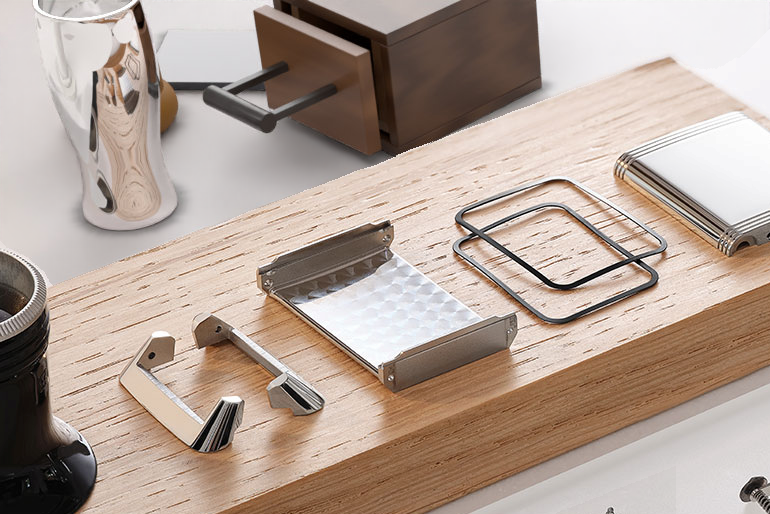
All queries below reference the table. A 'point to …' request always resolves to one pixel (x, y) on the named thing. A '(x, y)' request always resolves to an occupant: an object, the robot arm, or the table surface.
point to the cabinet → (441, 59)
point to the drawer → (312, 80)
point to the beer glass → (108, 106)
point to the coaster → (208, 58)
